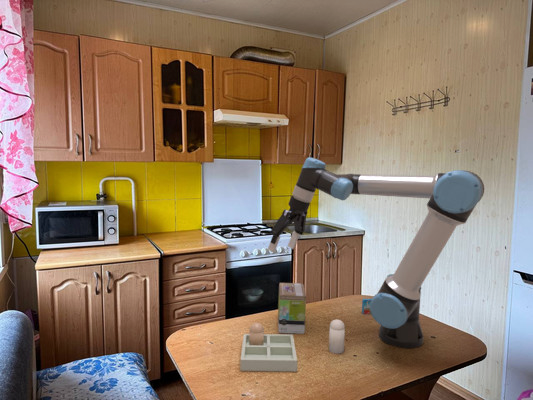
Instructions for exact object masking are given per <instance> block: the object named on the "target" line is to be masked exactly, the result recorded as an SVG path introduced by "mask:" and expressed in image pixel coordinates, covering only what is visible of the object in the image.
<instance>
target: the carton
mask: <svg viewBox="0 0 533 400" xmlns="http://www.w3.org/2000/svg"><path fill="white" fill-rule="evenodd" d="M248 330H249V333H243V338H242V346H241V353H240V372H289V373H291V372H293V373H295V372H298V358H297V352H296V346H295V340H294V334H284V333H278V334H275V333H273V334H272V333H271V334H268V333H265V329H264V325H262V323H259V322H254V323H252V324H251V325H250V327H249V329H248Z"/></svg>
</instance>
